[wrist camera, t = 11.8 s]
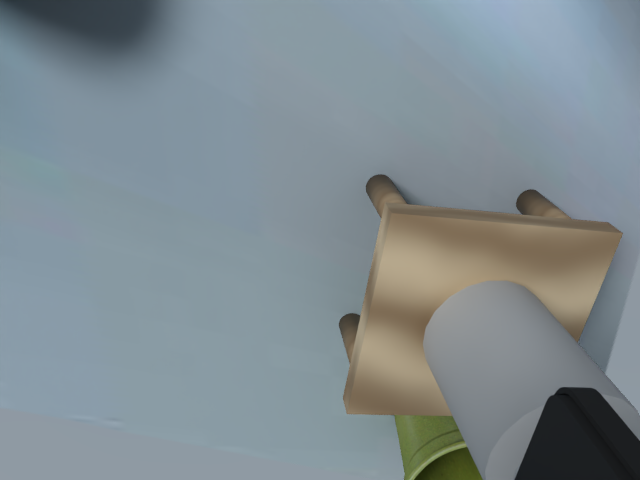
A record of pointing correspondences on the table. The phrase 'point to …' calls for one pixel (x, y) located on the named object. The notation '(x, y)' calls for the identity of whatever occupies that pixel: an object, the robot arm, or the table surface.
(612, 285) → the table surface
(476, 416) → the can
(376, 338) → the stool
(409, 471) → the plant pot
